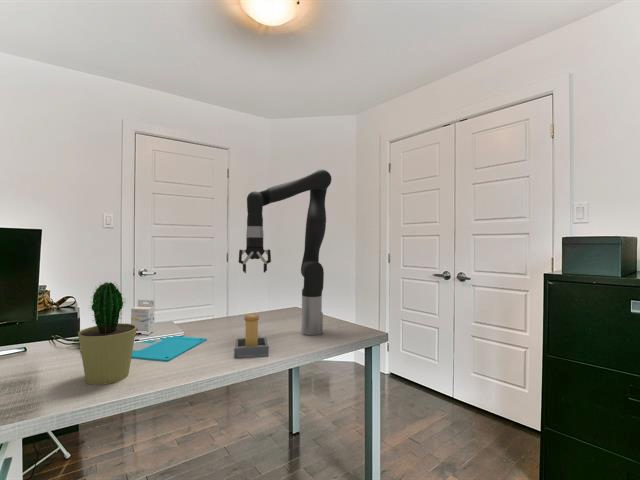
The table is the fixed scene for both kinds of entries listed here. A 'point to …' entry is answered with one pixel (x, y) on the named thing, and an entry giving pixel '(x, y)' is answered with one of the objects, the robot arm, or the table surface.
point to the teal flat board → (164, 348)
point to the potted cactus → (107, 339)
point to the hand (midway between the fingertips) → (254, 272)
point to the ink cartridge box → (143, 315)
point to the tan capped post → (251, 330)
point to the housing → (251, 348)
